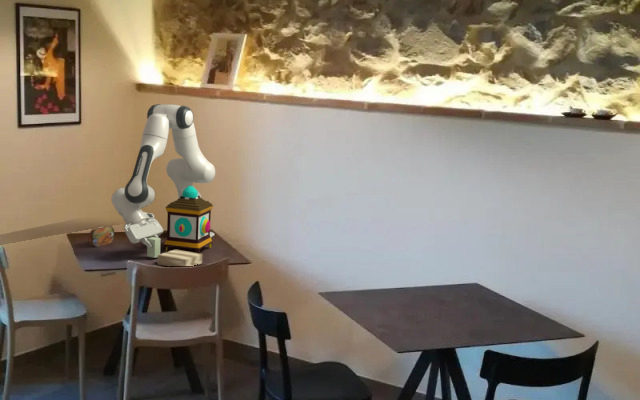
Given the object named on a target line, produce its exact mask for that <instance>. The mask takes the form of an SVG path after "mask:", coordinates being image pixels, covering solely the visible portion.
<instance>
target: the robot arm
mask: <svg viewBox="0 0 640 400" xmlns="http://www.w3.org/2000/svg"><path fill="white" fill-rule="evenodd" d="M146 119H147V120H146V122H145V126H144V128H143V132H142V136H141V142H140V145H139V147H140V148H139V151H138V155H137V158H136V162H135V165H134V168H133V171H132V175H131V176H130V177H131V178H130V179H129V180H128V182H127V183H126V184H125V187H120V188H118V189H117V190H115V191H114V192H113V194H112V196H111V198H110V199H111V202H112V205H113V207H114V208H115V210H116V211H117V213H118V215H120V216H121V217H122V218H123V222H124V223H125V224H124V225H123V230H124V232H125V235H126V237H127V238H128V239H129V241H130V243H132V244H137V243H142V244H143V245H145V246H146V248H147V247H148V248H152V247H153V245H152V243H150V242H148V241H147V239H148V238H151V237H157V238H159V236H161V235H162V234H163V233H164V228H163V227H162V225H161V224H160V222H159V221H158V219H156V218H155V215H154V213H150V212H145V211H143V210H142V209H144V208H146V207H147V206H149V205H151V204H152V203H153V202H154V200H155V199H156V198H155V197H156V192H155V190H154V188H152V186H150V185H148V181H147V180H148V177H149V174H150V173H149V172H150V169H151V166H152V163H153V161H154V160H156V159H157V158H160V157H161V156H162V155H163V154H164V152H165V150H166V147H167V144H168V138H169V131H170V130H171V134H172V139H173V146H174V149H175V153H176V154H178V155H179V156H180V157H179V158H172V159H170V160H169V161H168V162H167V164H166V169H165V170H166V174H167V176H168V177H169V178H170V180H171V181H172V182H173V184H174V186H175V189H176V191H177V200H178V199H179V198H180V196H182V194H183V190H184V189H185V188H186V187H188V186H192V187H194V188H195V189H196V187H195V186H194V183H195V184H209V183H212V181H213V180H214V179H215V177H216V168H215V165H214V164H212V163H211V162H210V161H209V160H208V159H207V158H206V157H205V156H204V154H203V153H202V151H201V149H200V145H199V142H198V138H197V133H196V132H197V131H196V126H195V123H194V112H193V111H192V109H191V108H190V107H189V106H186V105H179V104H160V103H158V104H157V103H156V104H153V105H151V106H150V107H149V109H148V110H147V114H146ZM197 192H198V196H200V198H202V194H201V193H200V191H199V190H197ZM214 236H215V233H214V232H212V231H210V237H211V238H213V237H214ZM160 245H161V242H160Z"/></svg>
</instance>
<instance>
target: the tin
mask: <svg viewBox="0 0 640 400" xmlns="http://www.w3.org/2000/svg"><path fill="white" fill-rule="evenodd" d="M115 235H116V233H115V228H113V227H112V226H109V225H104V226H99V227H96V228H93V229H91V231H90V232H89V234H88V242H89V244H90V245H91V246H92V247H96V248H99V247H103V246H106V245H110V244H111V243H113V241H114V239H115Z"/></svg>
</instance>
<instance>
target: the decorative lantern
mask: <svg viewBox="0 0 640 400" xmlns="http://www.w3.org/2000/svg"><path fill="white" fill-rule="evenodd" d="M194 187H195V186H194ZM194 187H192V186H188V187H186V188H185V189H184V190H183V194H182V196H180V198H179V199H178V198H177V199H176V200H174V201H171V202H170V203H168V204H167V205H166V206H165V210H166V212H167V219H166V220H167V225H166V226H167V227H166V239H165V241H164V243H163V252H164V253H166V252H168V247H170V248H180V249H189V250H194V251H195V253H199V254H201V250H202V249H203V248H205V247H207V246H208V249H212V247H213V240H212V237H210V232H211V215H212V214H211V212H212V209H213V207H214V205H213V204H212V203H211V202H210V201H209V200H205V199H204V198H202V197H201V198H200V196H198V192H197V191H198V189H196V187H195V188H194Z"/></svg>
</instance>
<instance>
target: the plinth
mask: <svg viewBox="0 0 640 400" xmlns="http://www.w3.org/2000/svg"><path fill="white" fill-rule="evenodd" d="M203 256H204V255H203V253H200V254H199V253H196V252H193V251H186V250H180V249H173V250H169V251H166V252H163V253H160V255H158V257H157V265H158V266H159V265H162V266H165V267H166V266H167V267H170V266H193V267H195V266H194V265H196V266H198V265H200V264H203ZM197 264H198V265H197Z"/></svg>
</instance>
